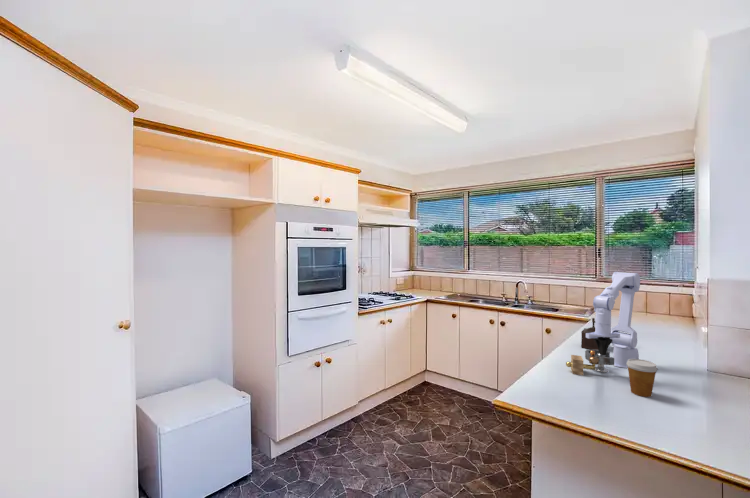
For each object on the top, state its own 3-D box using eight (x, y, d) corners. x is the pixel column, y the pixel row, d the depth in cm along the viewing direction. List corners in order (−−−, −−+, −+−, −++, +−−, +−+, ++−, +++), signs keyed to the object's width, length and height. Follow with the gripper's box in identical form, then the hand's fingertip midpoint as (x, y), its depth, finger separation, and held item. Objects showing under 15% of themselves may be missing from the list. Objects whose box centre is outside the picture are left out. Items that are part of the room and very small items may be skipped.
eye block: (581, 370, 157) (581, 355, 157) (583, 375, 151) (583, 360, 151) (570, 368, 159) (571, 354, 159) (572, 374, 153) (572, 359, 152)
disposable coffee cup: (652, 391, 136) (653, 360, 135) (660, 401, 127) (661, 368, 127) (623, 386, 140) (623, 357, 139) (628, 396, 131) (629, 364, 131)
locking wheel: (609, 357, 162) (609, 347, 161) (615, 366, 150) (615, 355, 150) (583, 354, 166) (583, 344, 166) (587, 362, 154) (587, 351, 154)
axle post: (607, 368, 159) (607, 359, 159) (610, 373, 154) (610, 363, 154) (592, 366, 162) (592, 357, 161) (594, 371, 156) (594, 361, 156)
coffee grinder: (604, 352, 184) (605, 318, 183) (580, 348, 191) (581, 315, 190) (608, 345, 196) (608, 314, 195) (585, 342, 203) (586, 311, 202)
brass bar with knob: (597, 369, 153) (598, 357, 153) (599, 372, 150) (599, 359, 150) (565, 365, 158) (565, 353, 158) (566, 367, 155) (566, 355, 155)
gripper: (611, 321, 156) (611, 351, 156) (581, 321, 154) (580, 351, 155) (624, 324, 149) (623, 356, 149) (592, 325, 147) (591, 357, 148)
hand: (602, 354), depth 151 cm, fingers closed
